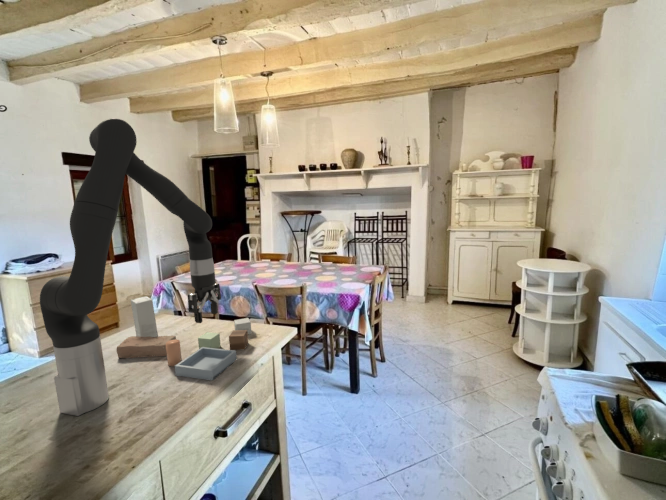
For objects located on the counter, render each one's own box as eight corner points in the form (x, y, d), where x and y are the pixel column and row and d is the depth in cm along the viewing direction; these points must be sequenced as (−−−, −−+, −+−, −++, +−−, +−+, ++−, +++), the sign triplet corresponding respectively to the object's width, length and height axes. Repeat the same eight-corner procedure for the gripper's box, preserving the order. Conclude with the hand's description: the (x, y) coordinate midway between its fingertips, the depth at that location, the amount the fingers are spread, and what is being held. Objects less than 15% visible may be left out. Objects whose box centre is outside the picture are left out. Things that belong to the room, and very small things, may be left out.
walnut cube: (244, 349, 112) (243, 335, 111) (229, 350, 112) (228, 336, 111) (248, 343, 117) (247, 330, 116) (234, 343, 117) (233, 330, 116)
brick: (178, 345, 117) (176, 333, 116) (168, 356, 109) (166, 343, 108) (130, 348, 116) (128, 336, 115) (116, 360, 108) (114, 346, 107)
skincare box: (158, 337, 124) (154, 299, 122) (140, 342, 120) (135, 303, 117) (151, 331, 130) (147, 295, 128) (134, 335, 126) (129, 298, 123)
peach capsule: (175, 366, 101) (173, 345, 100) (165, 365, 102) (162, 344, 101) (184, 360, 105) (182, 340, 104) (174, 359, 106) (172, 338, 105)
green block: (211, 353, 110) (210, 339, 109) (199, 351, 111) (197, 337, 110) (220, 346, 115) (219, 333, 114) (208, 345, 116) (207, 332, 115)
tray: (212, 380, 93) (211, 370, 92) (175, 375, 96) (174, 365, 96) (236, 359, 105) (236, 350, 104) (203, 355, 108) (202, 346, 108)
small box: (249, 329, 130) (248, 317, 129) (251, 334, 125) (251, 322, 124) (234, 331, 128) (233, 319, 127) (236, 337, 122) (235, 324, 122)
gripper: (198, 277, 101) (203, 327, 104) (224, 267, 115) (228, 311, 117) (178, 276, 103) (183, 325, 106) (206, 266, 116) (210, 310, 119)
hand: (207, 317), depth 111 cm, fingers open, 8 cm apart
